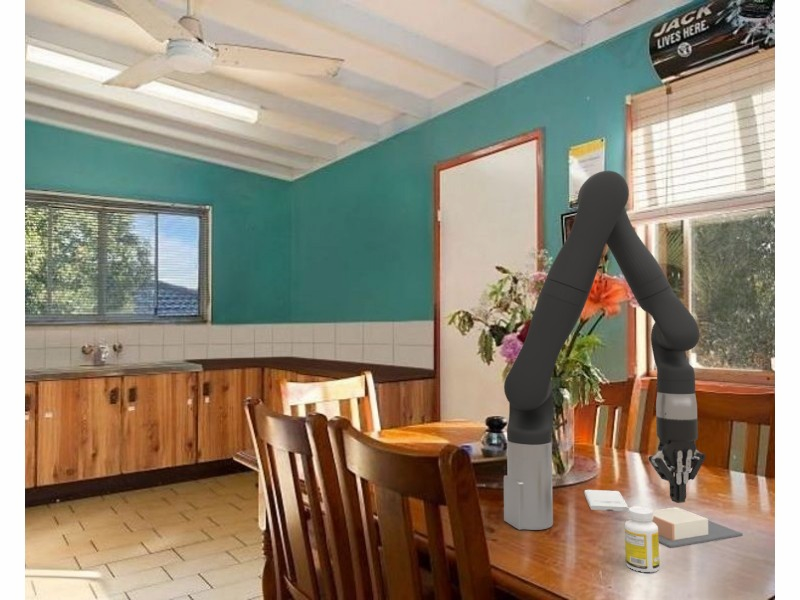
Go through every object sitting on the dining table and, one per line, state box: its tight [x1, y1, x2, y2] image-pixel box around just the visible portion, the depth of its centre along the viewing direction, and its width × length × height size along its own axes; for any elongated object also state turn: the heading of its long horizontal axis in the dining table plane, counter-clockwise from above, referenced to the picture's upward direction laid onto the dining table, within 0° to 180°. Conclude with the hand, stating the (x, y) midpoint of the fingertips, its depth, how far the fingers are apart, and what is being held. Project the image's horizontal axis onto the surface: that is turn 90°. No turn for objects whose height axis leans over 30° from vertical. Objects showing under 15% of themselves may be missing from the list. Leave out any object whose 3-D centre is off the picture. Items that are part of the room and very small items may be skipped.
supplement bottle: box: [624, 506, 660, 573], centre depth 103 cm, size 5×5×10 cm
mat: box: [658, 519, 744, 549], centre depth 120 cm, size 18×12×1 cm, turn 110°
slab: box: [652, 506, 709, 541], centre depth 119 cm, size 3×8×9 cm
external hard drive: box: [584, 489, 630, 513], centre depth 139 cm, size 2×8×12 cm
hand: (678, 501), depth 120 cm, fingers closed
